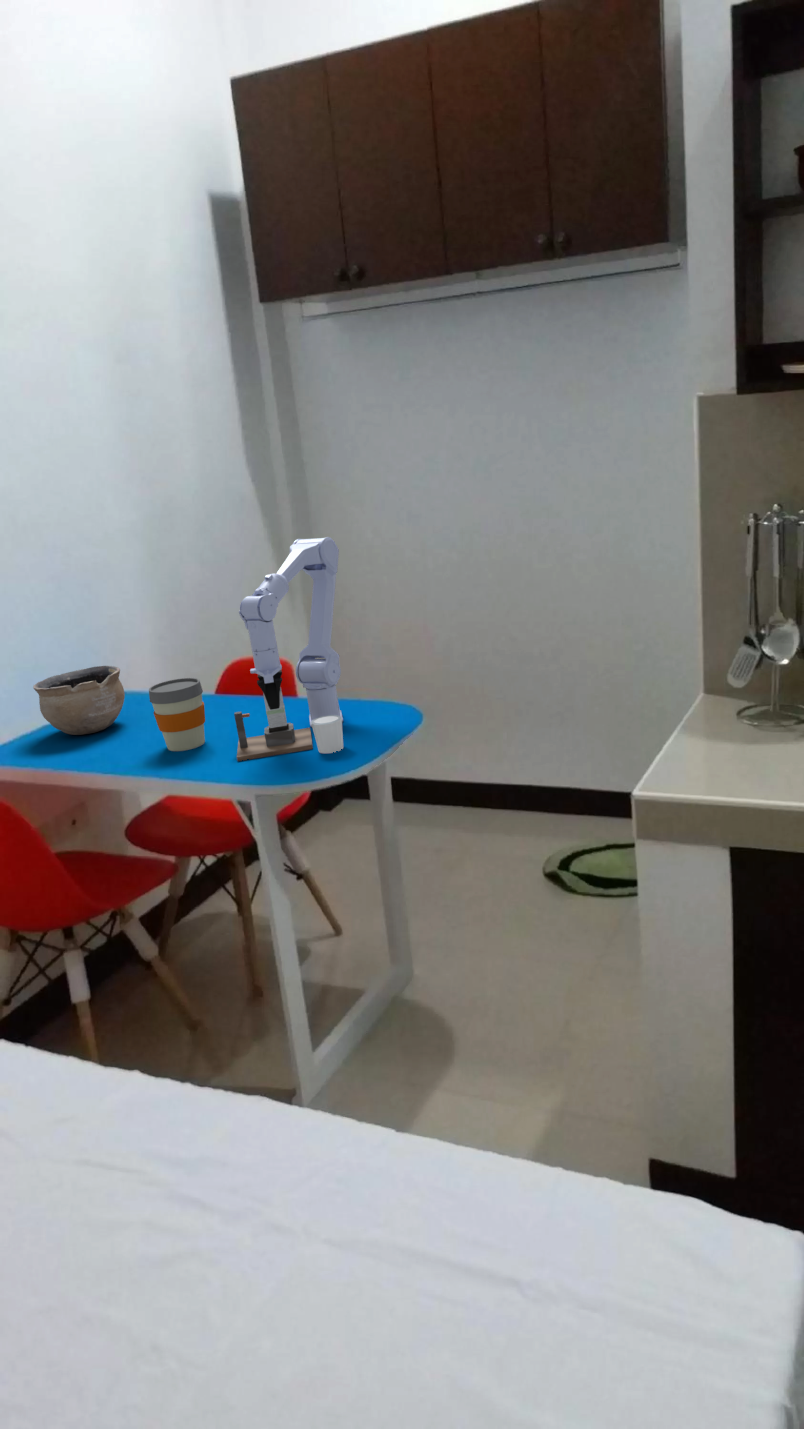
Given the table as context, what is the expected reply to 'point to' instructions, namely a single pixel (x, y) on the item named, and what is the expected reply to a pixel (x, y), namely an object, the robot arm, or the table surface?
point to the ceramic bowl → (82, 699)
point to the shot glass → (328, 733)
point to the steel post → (276, 714)
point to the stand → (271, 740)
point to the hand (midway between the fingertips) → (274, 706)
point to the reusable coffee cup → (179, 712)
